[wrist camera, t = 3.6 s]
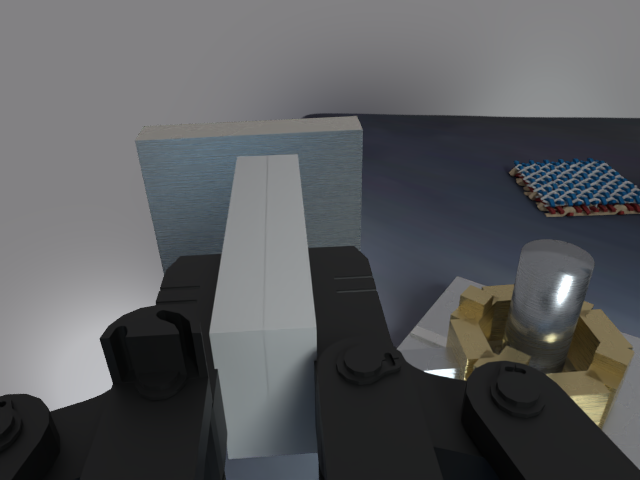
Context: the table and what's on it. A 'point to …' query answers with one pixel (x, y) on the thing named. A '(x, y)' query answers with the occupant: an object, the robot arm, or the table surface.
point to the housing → (545, 326)
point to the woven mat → (577, 188)
